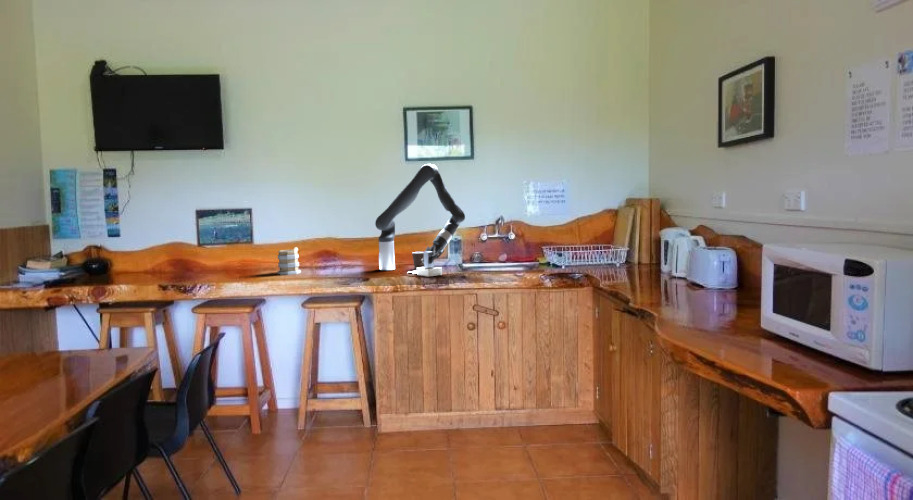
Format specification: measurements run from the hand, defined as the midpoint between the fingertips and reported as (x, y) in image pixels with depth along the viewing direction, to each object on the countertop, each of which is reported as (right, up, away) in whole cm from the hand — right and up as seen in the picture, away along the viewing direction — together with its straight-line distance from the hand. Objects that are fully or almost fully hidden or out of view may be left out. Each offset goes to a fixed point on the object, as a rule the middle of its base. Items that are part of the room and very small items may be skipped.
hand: (426, 262), depth 324 cm
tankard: (-84, -7, +31) cm, 90 cm away
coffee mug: (-4, -5, +31) cm, 31 cm away
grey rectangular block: (+2, -6, +2) cm, 6 cm away
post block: (-1, -7, +5) cm, 9 cm away
